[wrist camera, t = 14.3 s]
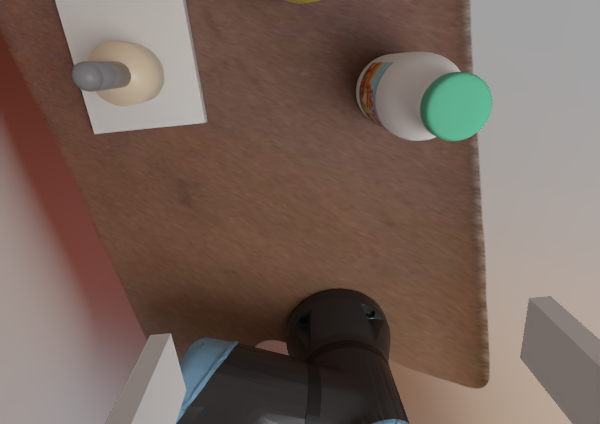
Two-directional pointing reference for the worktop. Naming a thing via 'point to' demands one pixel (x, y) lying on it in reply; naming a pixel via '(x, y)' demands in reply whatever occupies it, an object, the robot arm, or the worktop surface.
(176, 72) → the assembly board
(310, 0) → the plant pot
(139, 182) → the worktop surface
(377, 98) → the milk bottle
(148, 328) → the worktop surface
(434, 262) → the worktop surface
